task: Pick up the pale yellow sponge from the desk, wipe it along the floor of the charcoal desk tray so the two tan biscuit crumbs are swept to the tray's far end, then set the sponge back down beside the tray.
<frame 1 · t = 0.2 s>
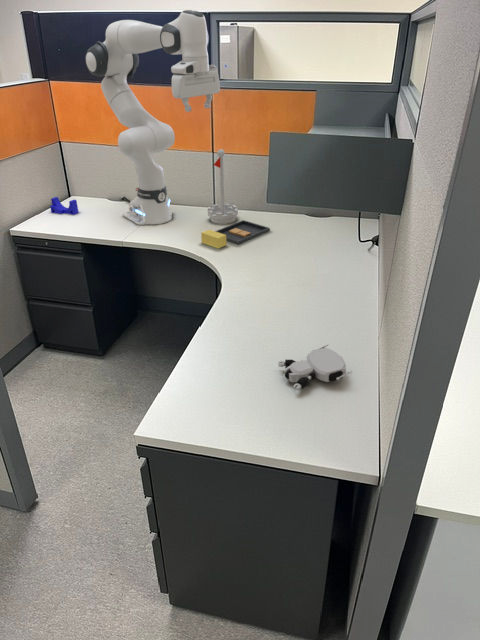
hand: (198, 109, 177), 48 cm above the table, tool pointing down, fingers open, 8 cm apart
sponge: (214, 245, 193), on the table
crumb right: (243, 234, 201), point 1 cm above the table, touching tray
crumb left: (235, 232, 203), point 1 cm above the table, touching tray
flag stand: (223, 220, 217), on the table
tray: (240, 234, 203), on the table
robot toy: (313, 376, 122), on the table
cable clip: (65, 213, 229), on the table
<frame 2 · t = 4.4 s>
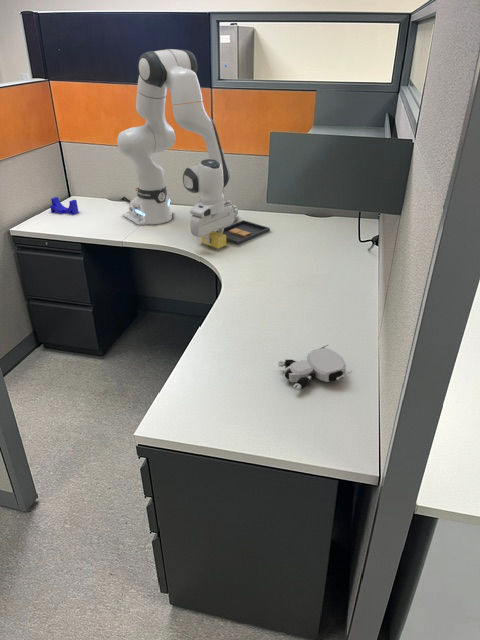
hand: (213, 240, 192), 2 cm above the table, tool pointing down, fingers closed on sponge, 4 cm apart
sponge: (214, 245, 193), on the table, touching gripper
everything else where it was.
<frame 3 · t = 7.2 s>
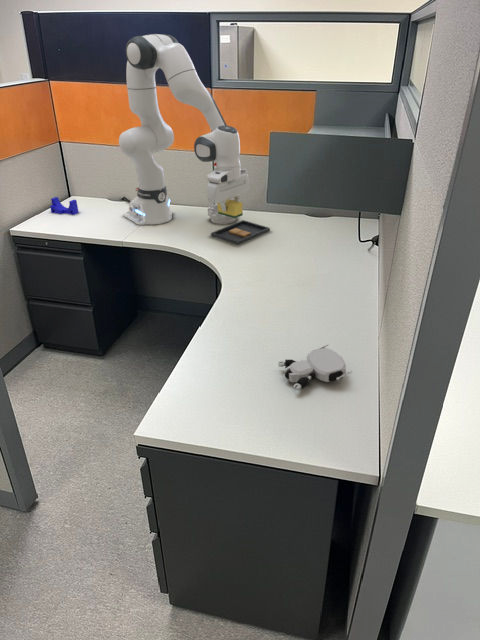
hand: (229, 209, 192), 12 cm above the table, tool pointing down, fingers closed on sponge, 4 cm apart
sponge: (230, 214, 193), point 10 cm above the table, touching gripper
everything else where it was.
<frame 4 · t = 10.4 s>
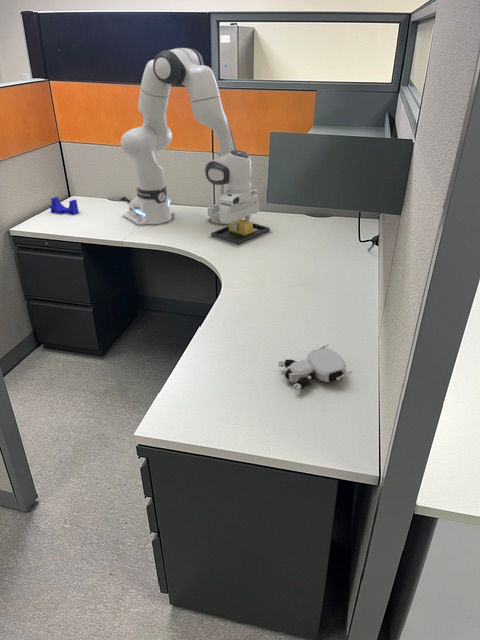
hand: (240, 228, 201), 3 cm above the table, tool pointing down, fingers closed on sponge, 4 cm apart
sponge: (240, 233, 202), point 1 cm above the table, touching gripper
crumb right: (251, 231, 204), point 1 cm above the table, touching tray
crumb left: (243, 229, 206), point 1 cm above the table, touching tray
flag stand: (223, 220, 217), on the table, touching arm
everything else where it was.
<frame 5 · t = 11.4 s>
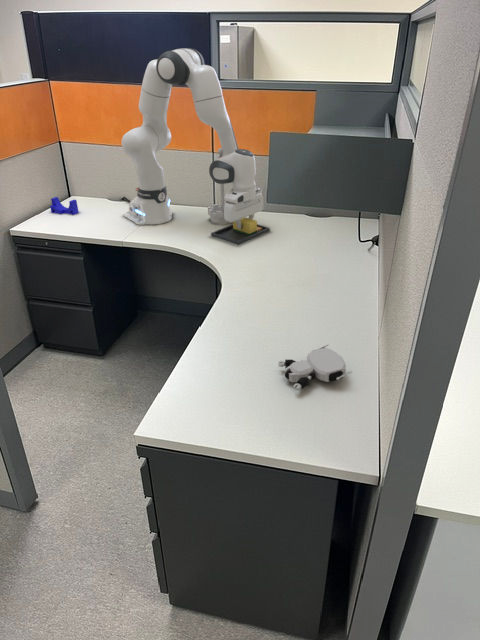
hand: (244, 226, 203), 3 cm above the table, tool pointing down, fingers closed on sponge, 4 cm apart
sponge: (244, 231, 204), point 1 cm above the table, touching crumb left, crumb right, gripper
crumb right: (255, 229, 205), point 1 cm above the table, touching sponge, tray
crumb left: (247, 227, 208), point 1 cm above the table, touching sponge, tray
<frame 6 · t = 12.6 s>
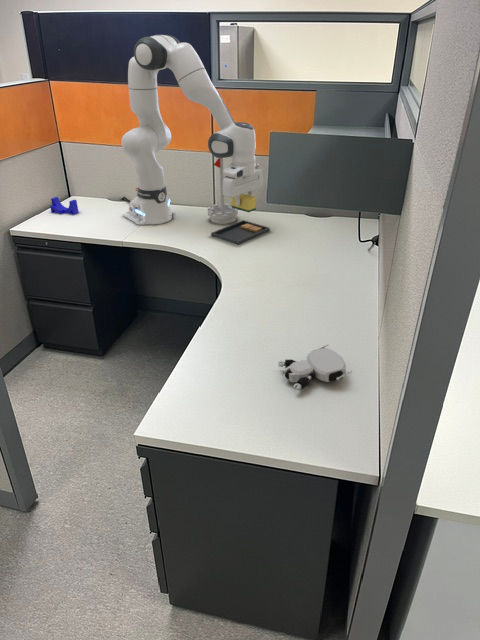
hand: (243, 203, 198), 12 cm above the table, tool pointing down, fingers closed on sponge, 4 cm apart
sponge: (243, 208, 199), point 10 cm above the table, touching gripper
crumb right: (255, 229, 205), point 1 cm above the table, touching tray
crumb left: (247, 227, 208), point 1 cm above the table, touching tray
flag stand: (223, 220, 217), on the table
everything else where it was.
when the fingers open (2 cm above the table, at t = 17.5 s): sponge stays where it is, on the table.
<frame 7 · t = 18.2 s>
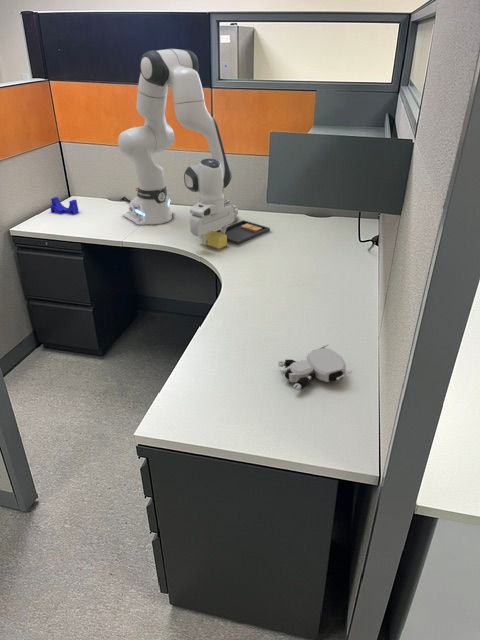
hand: (213, 240, 192), 2 cm above the table, tool pointing down, fingers open, 8 cm apart
sponge: (214, 246, 193), on the table
everything else where it was.
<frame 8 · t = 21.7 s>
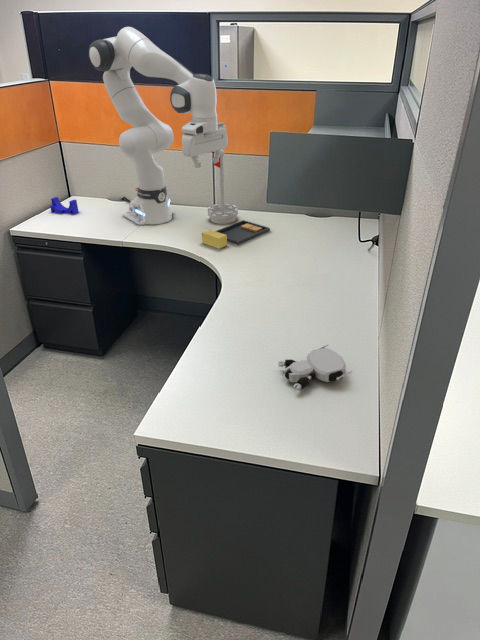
hand: (206, 165, 184), 29 cm above the table, tool pointing down, fingers open, 8 cm apart
nothing on the table moved.
at the end: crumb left inside the target area in the tray (2.2 cm from its centre), point 0.6 cm above the tray's base; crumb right inside the target area in the tray (2.2 cm from its centre), point 0.6 cm above the tray's base; sponge inside the target area (0.2 cm from its centre), on the table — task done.
